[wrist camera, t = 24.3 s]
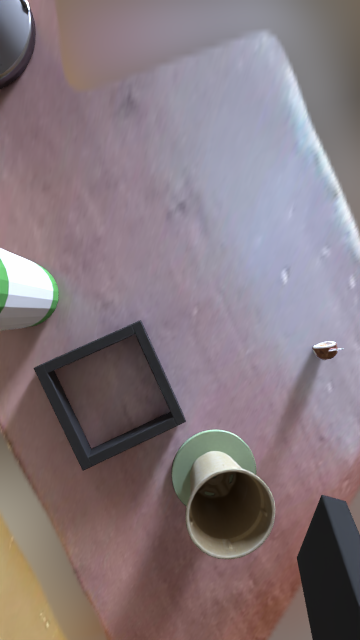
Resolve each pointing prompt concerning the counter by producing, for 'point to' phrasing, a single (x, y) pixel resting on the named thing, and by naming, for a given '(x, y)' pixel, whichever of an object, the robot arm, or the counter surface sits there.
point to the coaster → (202, 445)
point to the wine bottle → (24, 292)
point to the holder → (66, 413)
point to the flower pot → (227, 507)
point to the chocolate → (325, 350)
